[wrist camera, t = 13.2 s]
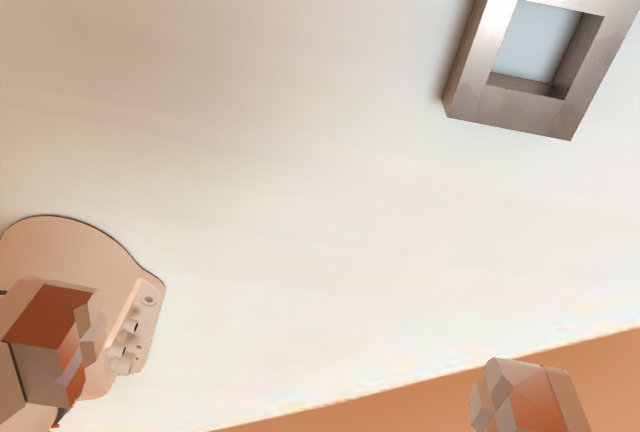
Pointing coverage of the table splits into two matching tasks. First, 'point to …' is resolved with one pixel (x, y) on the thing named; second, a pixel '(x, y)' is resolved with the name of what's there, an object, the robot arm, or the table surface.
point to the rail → (526, 95)
